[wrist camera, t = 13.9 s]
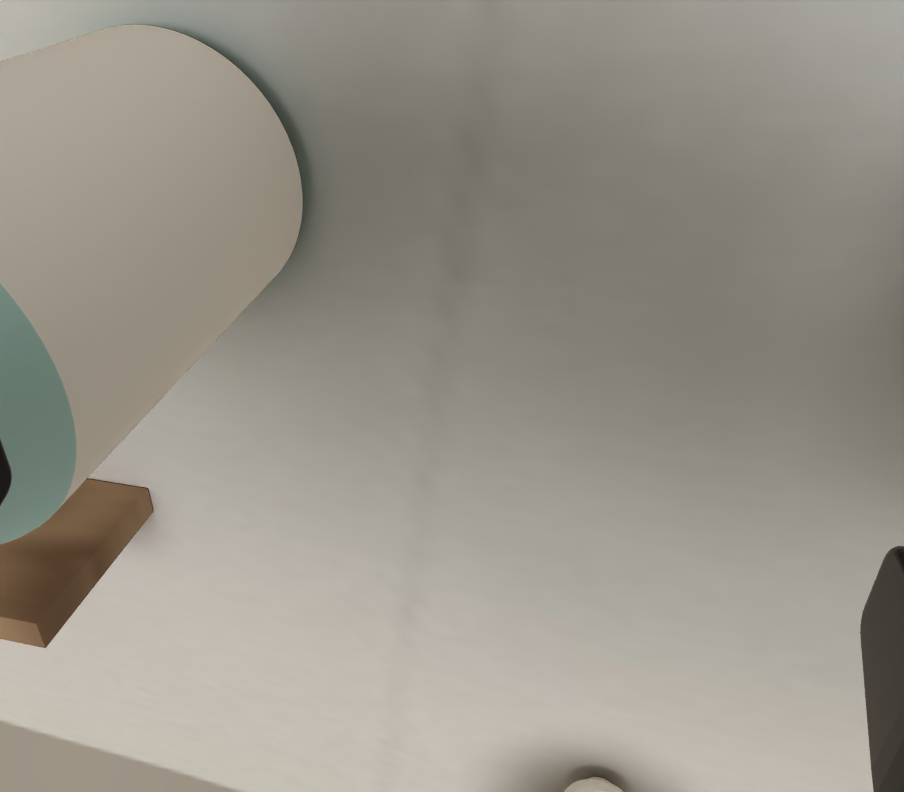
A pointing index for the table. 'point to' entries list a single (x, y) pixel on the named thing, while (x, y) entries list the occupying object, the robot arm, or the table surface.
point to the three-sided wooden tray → (66, 558)
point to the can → (123, 240)
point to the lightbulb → (592, 786)
